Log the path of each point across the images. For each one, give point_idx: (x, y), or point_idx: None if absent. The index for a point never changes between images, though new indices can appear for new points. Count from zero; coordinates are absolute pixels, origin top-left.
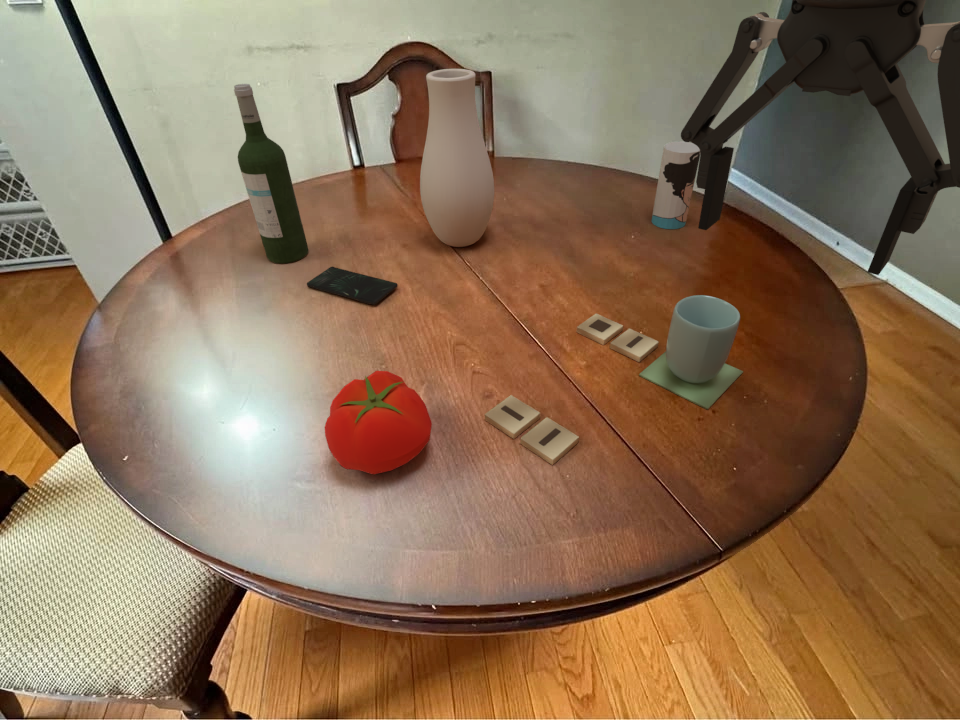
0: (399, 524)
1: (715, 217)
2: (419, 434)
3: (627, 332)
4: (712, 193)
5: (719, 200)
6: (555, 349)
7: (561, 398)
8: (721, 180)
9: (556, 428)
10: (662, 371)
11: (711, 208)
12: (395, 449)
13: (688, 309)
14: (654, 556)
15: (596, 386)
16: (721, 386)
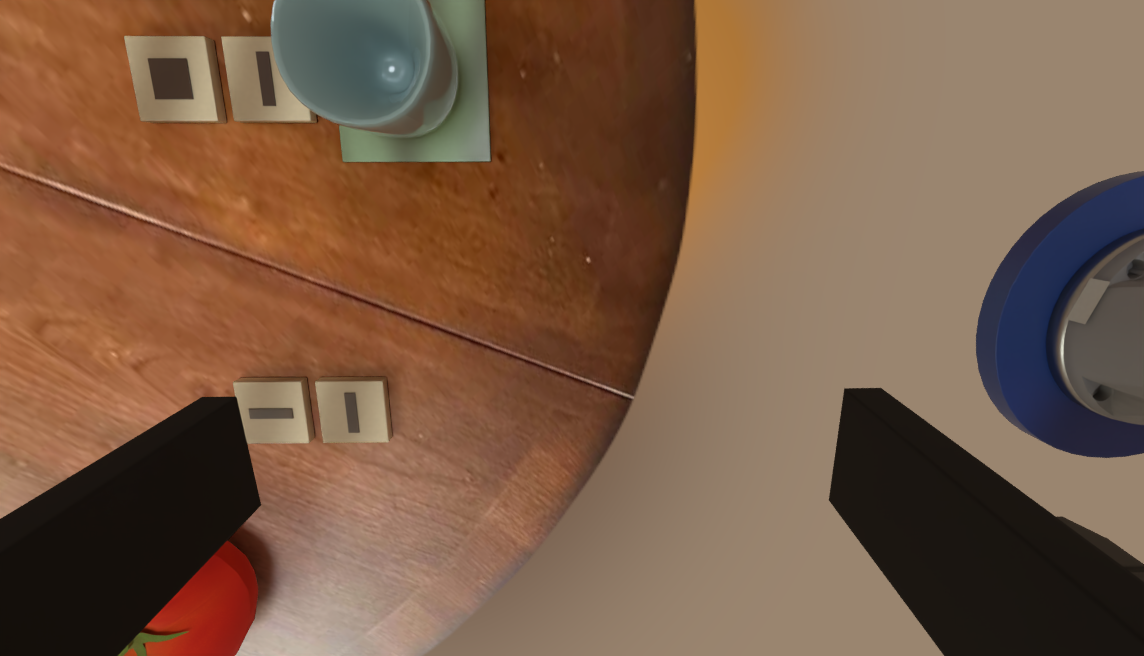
0: (332, 619)
1: (228, 457)
2: (234, 602)
3: (230, 56)
4: (139, 632)
5: (171, 495)
6: (173, 206)
7: (293, 315)
8: (78, 597)
9: (345, 393)
10: None
11: (197, 552)
12: (238, 634)
13: (303, 26)
14: (578, 459)
15: (311, 245)
16: (476, 80)
